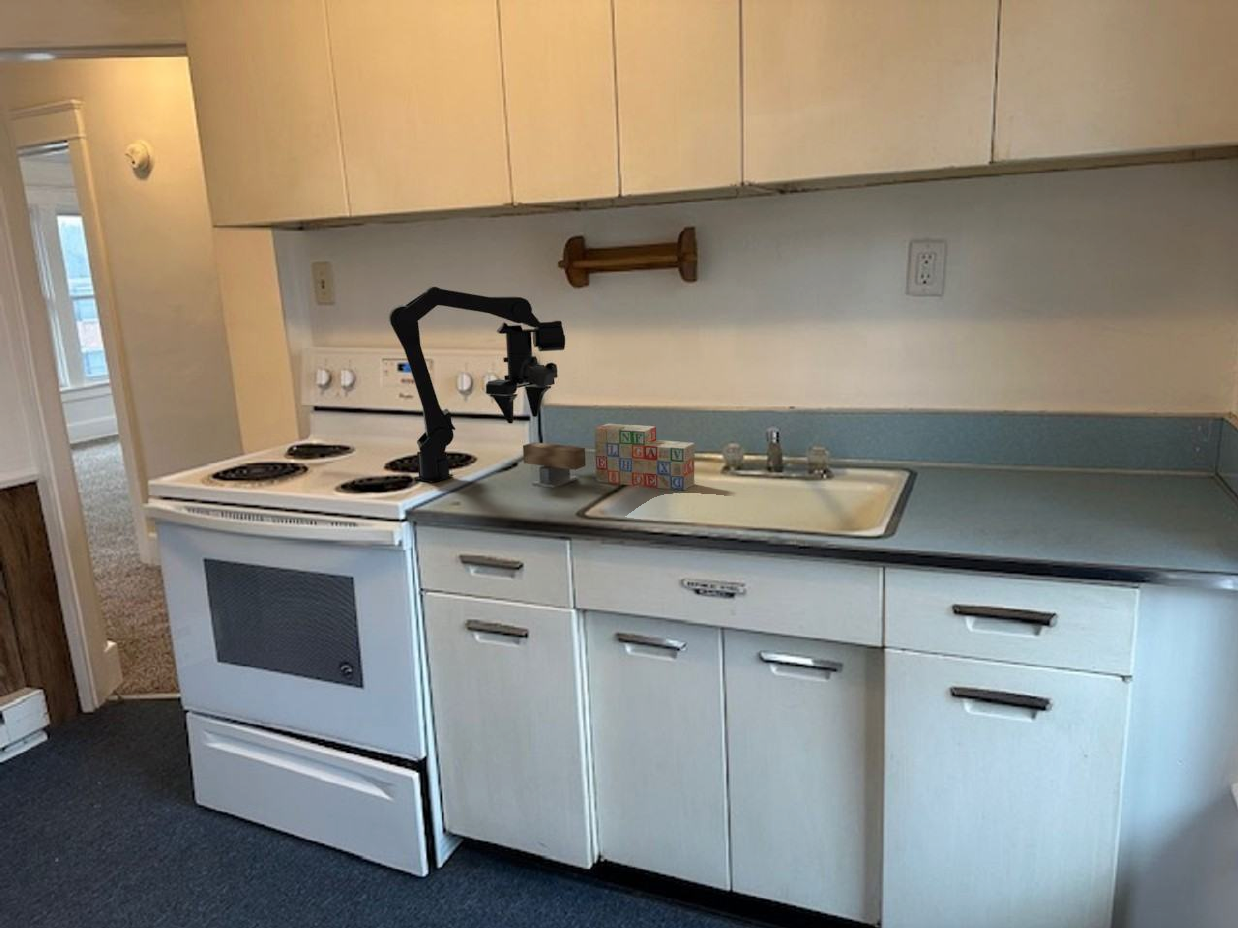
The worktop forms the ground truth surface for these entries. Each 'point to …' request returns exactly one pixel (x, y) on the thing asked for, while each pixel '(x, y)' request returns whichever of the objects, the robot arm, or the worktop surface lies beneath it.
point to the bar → (554, 455)
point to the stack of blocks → (642, 458)
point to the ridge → (554, 477)
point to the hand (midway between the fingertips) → (522, 419)
